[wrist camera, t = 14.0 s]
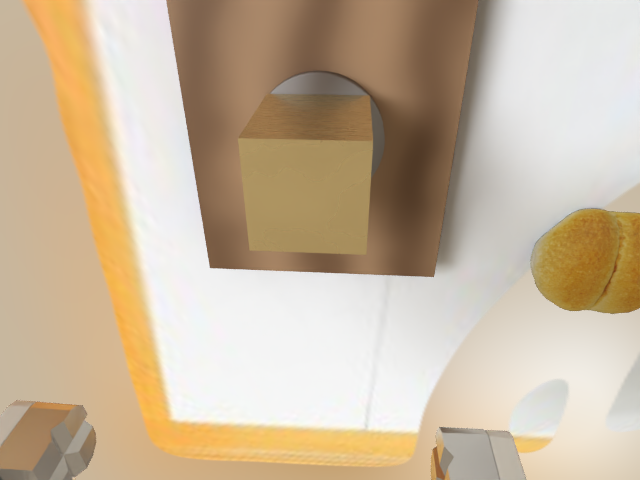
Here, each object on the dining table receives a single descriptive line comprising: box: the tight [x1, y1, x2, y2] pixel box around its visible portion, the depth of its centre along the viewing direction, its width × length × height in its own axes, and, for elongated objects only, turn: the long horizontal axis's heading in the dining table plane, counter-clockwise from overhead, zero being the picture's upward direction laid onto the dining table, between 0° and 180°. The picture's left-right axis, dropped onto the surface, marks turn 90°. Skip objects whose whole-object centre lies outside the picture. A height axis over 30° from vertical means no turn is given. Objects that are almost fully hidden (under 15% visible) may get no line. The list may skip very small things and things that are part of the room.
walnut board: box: [166, 0, 479, 277], centre depth 25 cm, size 16×20×10 cm
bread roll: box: [530, 209, 640, 314], centre depth 32 cm, size 8×9×4 cm
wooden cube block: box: [238, 94, 373, 255], centre depth 23 cm, size 6×6×7 cm
